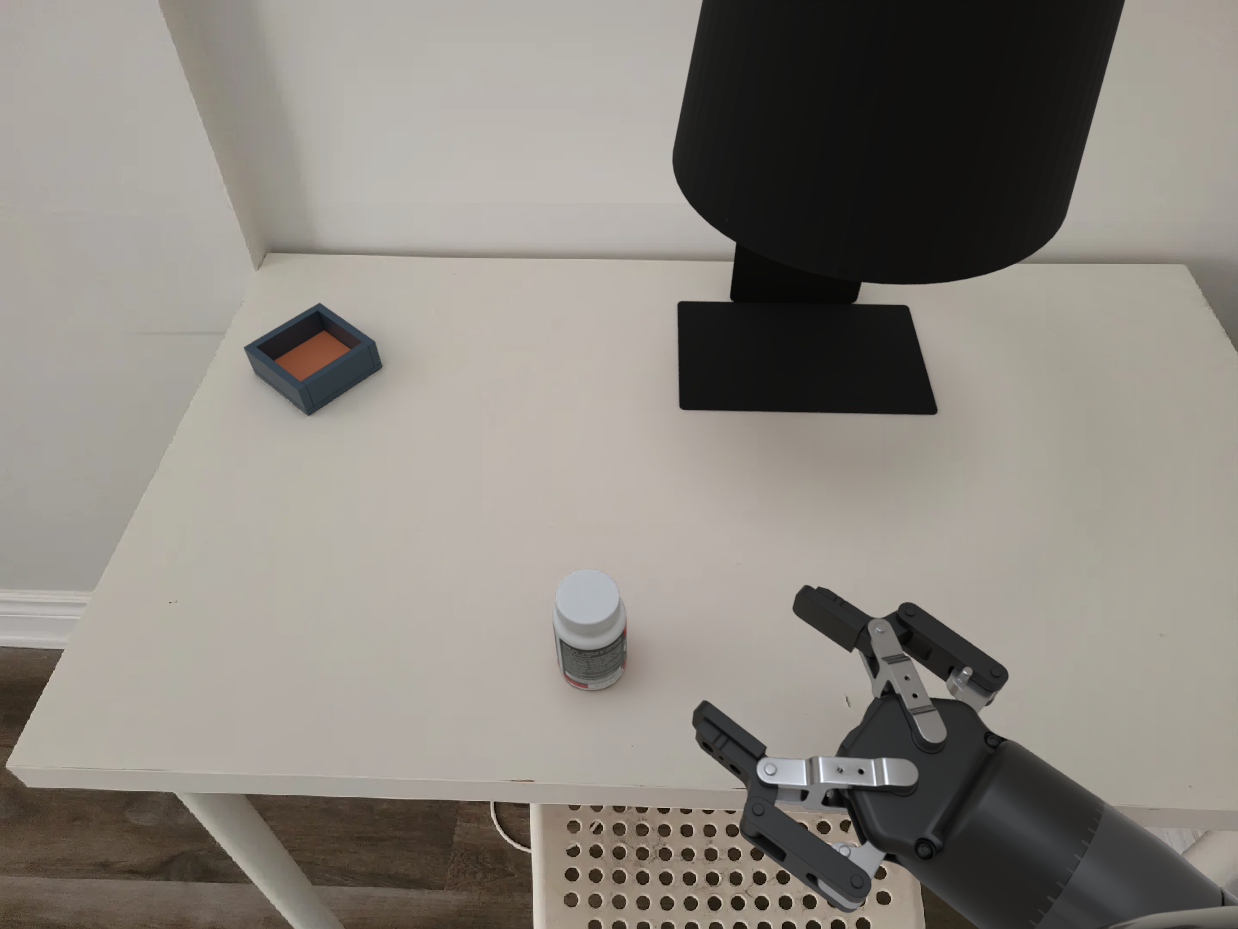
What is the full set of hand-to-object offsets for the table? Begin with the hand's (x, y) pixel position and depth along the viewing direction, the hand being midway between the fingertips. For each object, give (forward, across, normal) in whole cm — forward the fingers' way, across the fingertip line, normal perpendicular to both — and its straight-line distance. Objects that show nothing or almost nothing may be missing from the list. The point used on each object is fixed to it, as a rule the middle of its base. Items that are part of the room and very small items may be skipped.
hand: (749, 652), depth 44 cm
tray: (+49, -5, +14) cm, 52 cm away
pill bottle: (+11, 0, +15) cm, 19 cm away
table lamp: (+14, -31, +15) cm, 37 cm away
